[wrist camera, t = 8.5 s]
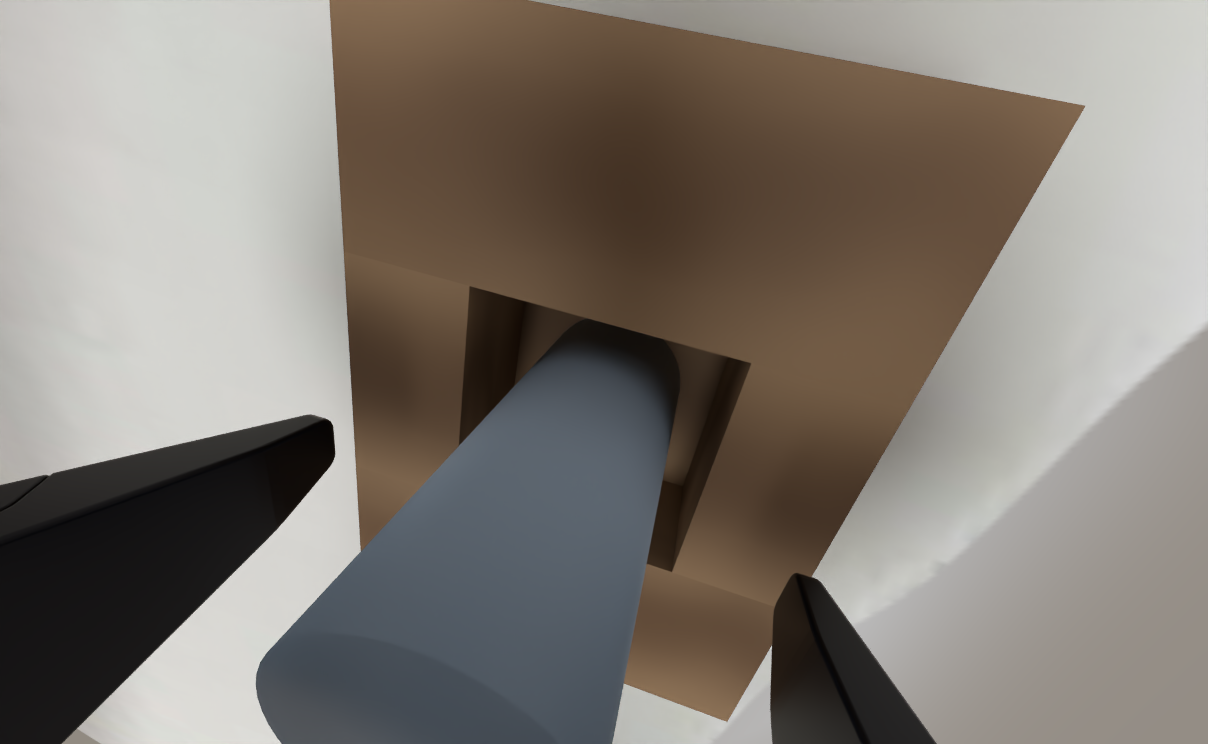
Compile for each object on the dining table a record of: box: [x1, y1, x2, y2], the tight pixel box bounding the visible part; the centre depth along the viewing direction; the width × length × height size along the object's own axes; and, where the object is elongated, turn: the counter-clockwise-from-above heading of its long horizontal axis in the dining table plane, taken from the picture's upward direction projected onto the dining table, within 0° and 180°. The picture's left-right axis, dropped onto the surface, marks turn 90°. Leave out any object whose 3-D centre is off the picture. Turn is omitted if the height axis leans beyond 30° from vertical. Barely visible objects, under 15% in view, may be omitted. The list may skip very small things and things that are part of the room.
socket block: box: [330, 0, 1085, 721], centre depth 13 cm, size 16×12×4 cm
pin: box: [256, 318, 680, 744], centre depth 9 cm, size 4×4×10 cm
